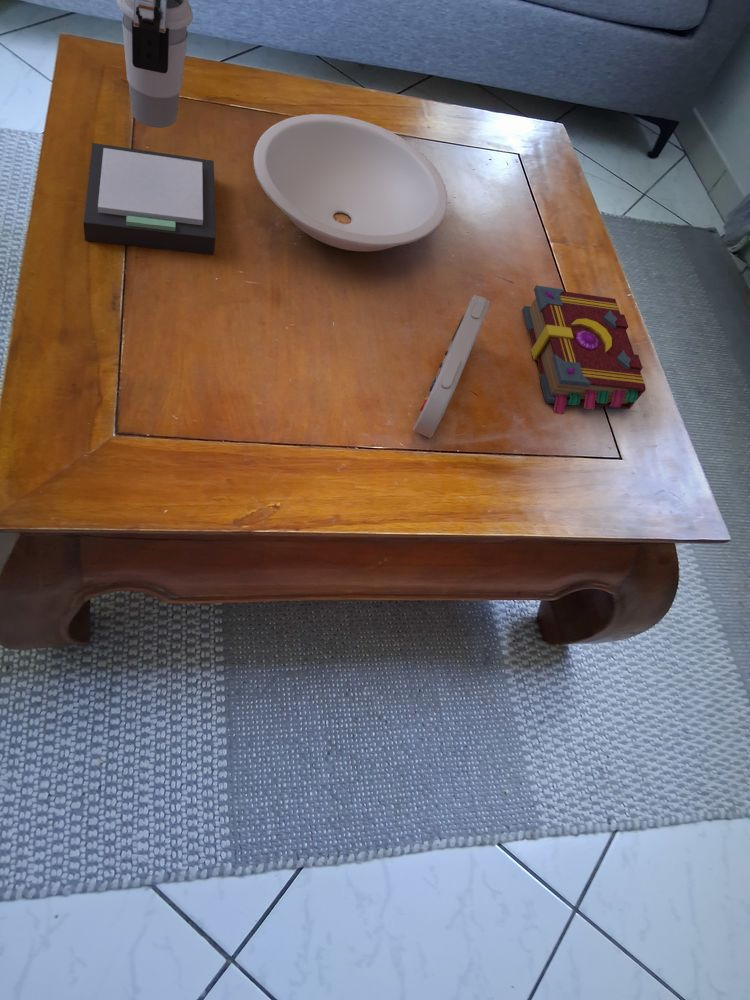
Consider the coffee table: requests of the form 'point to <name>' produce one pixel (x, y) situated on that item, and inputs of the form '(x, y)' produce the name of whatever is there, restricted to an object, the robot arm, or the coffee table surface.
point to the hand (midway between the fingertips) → (154, 45)
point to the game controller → (451, 367)
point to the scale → (150, 200)
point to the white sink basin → (350, 181)
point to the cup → (155, 90)
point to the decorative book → (582, 350)
